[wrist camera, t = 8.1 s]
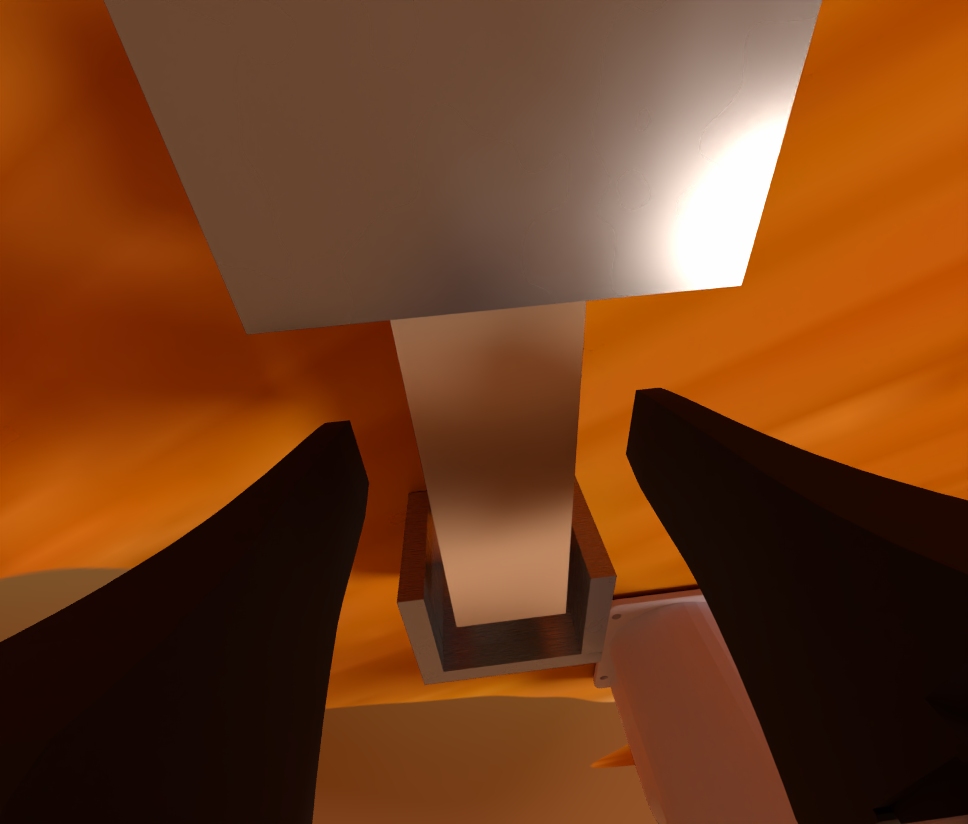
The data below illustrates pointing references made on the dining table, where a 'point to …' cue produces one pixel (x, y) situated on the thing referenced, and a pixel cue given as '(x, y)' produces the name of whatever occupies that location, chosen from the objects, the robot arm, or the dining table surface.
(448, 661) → the open end cap
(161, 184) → the dining table surface
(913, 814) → the robot arm
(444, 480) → the light brown long block
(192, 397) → the dining table surface
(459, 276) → the grey rectangular block
